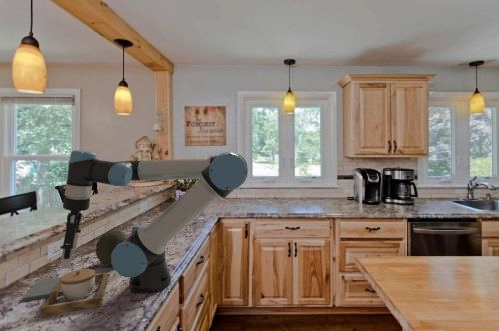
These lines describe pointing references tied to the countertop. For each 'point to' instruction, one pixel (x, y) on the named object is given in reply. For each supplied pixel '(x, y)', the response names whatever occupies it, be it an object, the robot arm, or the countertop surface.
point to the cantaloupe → (108, 245)
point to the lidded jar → (78, 284)
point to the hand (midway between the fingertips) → (68, 259)
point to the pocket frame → (74, 306)
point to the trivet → (42, 289)
